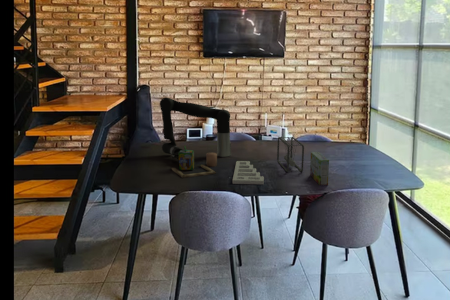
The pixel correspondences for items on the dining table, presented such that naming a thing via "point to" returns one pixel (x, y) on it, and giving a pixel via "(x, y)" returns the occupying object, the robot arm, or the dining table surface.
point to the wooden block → (211, 159)
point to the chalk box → (186, 159)
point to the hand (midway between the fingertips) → (185, 157)
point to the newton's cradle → (286, 157)
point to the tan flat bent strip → (195, 173)
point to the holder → (246, 174)
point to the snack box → (319, 168)
